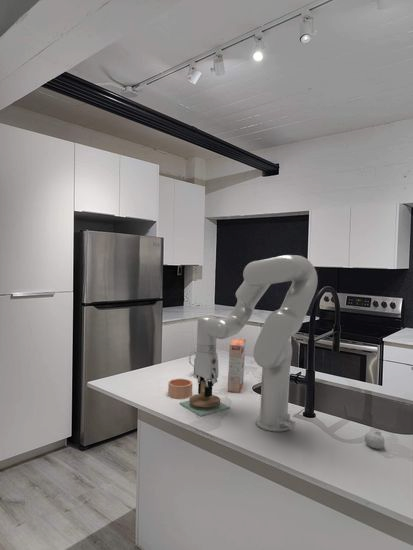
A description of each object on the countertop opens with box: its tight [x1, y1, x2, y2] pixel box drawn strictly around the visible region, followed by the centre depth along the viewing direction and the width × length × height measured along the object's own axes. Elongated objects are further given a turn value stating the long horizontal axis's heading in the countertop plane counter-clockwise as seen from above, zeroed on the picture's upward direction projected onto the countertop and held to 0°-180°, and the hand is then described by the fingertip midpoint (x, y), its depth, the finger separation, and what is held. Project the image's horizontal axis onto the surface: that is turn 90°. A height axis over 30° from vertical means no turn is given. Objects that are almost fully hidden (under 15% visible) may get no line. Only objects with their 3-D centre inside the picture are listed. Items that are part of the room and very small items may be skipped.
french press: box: [188, 345, 197, 379], centre depth 187 cm, size 10×12×25 cm
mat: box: [179, 400, 231, 417], centre depth 150 cm, size 14×14×1 cm
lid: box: [188, 379, 221, 407], centre depth 149 cm, size 12×12×8 cm
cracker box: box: [227, 338, 246, 394], centre depth 172 cm, size 14×6×21 cm, turn 168°
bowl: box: [167, 378, 193, 400], centre depth 162 cm, size 10×10×5 cm
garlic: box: [364, 430, 385, 450], centre depth 121 cm, size 6×5×5 cm
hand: (205, 394), depth 149 cm, fingers closed on lid, 3 cm apart
